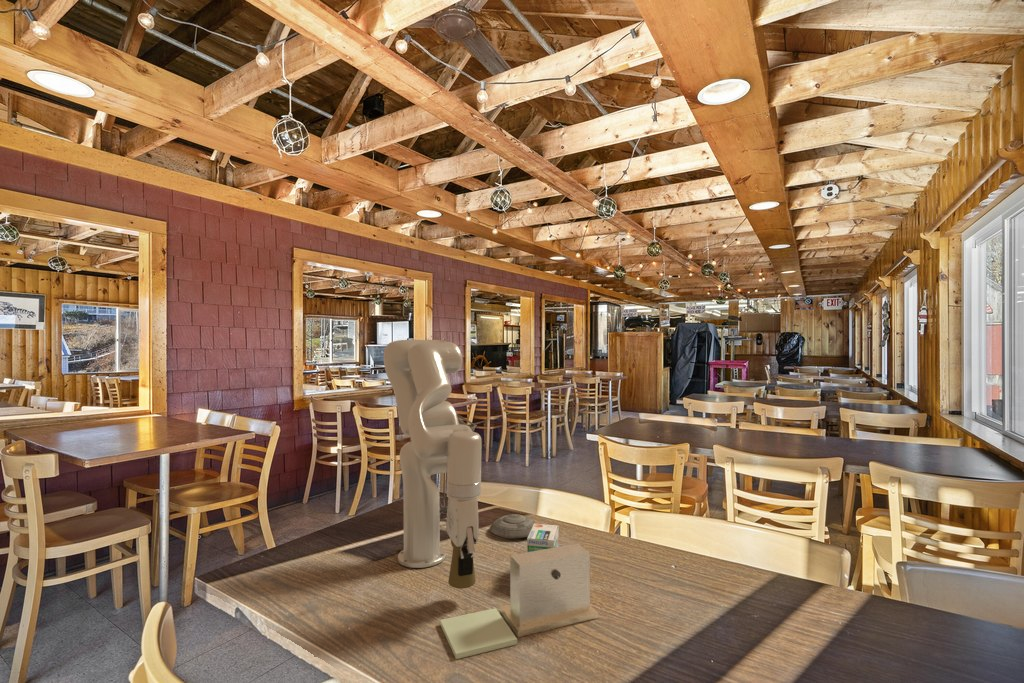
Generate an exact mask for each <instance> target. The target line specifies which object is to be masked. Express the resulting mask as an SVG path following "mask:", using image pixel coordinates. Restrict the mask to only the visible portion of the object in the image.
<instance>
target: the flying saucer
mask: <svg viewBox="0 0 1024 683" xmlns="http://www.w3.org/2000/svg"><path fill="white" fill-rule="evenodd" d="M534 524H538V523H537V522H536V521H535V520H533V518H530V517H529V516H526V515H522V514H519V513H510V514H506V515H502V516H501V517H498V518H497V519H495V520H494V521H493V522H492V524H491V525H490V527H489V530H490V532H491V533H492V534H494V535H496V536H497V537H501V538H505V539H523V538H528V536H529V533H530V531H531V529H532V527H533V525H534Z"/></svg>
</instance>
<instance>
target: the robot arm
mask: <svg viewBox="0 0 1024 683" xmlns="http://www.w3.org/2000/svg"><path fill="white" fill-rule="evenodd" d="M463 359H464V358H463V354H462V351H461V348H460V347H459V346H458V345H457V344H456V343H454V342H451V341H446V340H442V339H441V340H440V339H399V340H394V341H391V342H389V343H388V344H386V346H385V348H384V350H383V366H384V371H385V374H386V376H387V379H388V381H389V383H390V385H391V387H392V389H393V392H394V397H395V402H396V403H395V404H396V409H397V410H396V411H397V414H398V415H397V416H398V420H399V421H398V422H399V426H400V430H401V432H402V434H403V435H404V436H405V437H409V438H410V440H411V441H408V442H406V443H405V444H403V446H402V447H401V448H400V450H399V464H400V470H401V476H402V487H403V488H402V490H403V497H402V498H403V499H402V500H403V549H402V550H400V551H399V553H398V555H397V562H398V563H399V564H400V565H402V566H403V567H407V568H413V569H423V568H429V567H433V566H436V565H438V564H440V563H441V562H443V561H444V560H445V558H446V556H447V554H446V550H445V549H444V548H443V547H441V543H440V542H441V540H440V539H441V538H440V537H441V533H440V532H441V531H440V530H441V529H440V526H441V520H440V519H441V515H440V512H441V509H440V507H441V505H440V503H441V501H440V499H441V498H440V497H441V496H440V489H438V487H437V483H435V482H434V480H433V481H432V475H433V476H434V475H438V474H439V475H440V474H444V473H445V474H446V496H447V497H448V498H447V505H446V506H447V509H446V511H447V512H446V513H447V514H446V519H447V520H445V521H446V526H445V529H446V530H445V531H446V533H447V535H448V537H449V538H450V541H451V540H452V541H453V543H454V544H455V545H456V546H457V547H459V546H460V557H458V575H459V576H465V575H470V574H472V573H473V562H474V554H475V552H476V548H475V547H476V546H475V545H476V544H477V543H478V542H479V506H478V505H479V503H478V502H479V501H478V498H479V497H481V496H482V449H483V448H482V437H481V435H480V434H479V433H478V432H475V431H472V430H471V429H470V426H469V427H468V426H467V425H468V424H467V425H462V424H459V422H458V418H459V417H458V418H457V414H458V413H457V411H456V409H455V407H454V405H453V404H452V403H451V402H450V401H448V400H447V399H448V398H450V395H451V393H452V389H453V388H452V384H451V383H450V382H451V381H450V379H449V376H448V374H455V373H458V372H459V371H460V370H461V369H462V366H463ZM430 476H431V478H430ZM466 540H467V543H464V541H466ZM465 546H467V549H464V551H463V547H465Z"/></svg>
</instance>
